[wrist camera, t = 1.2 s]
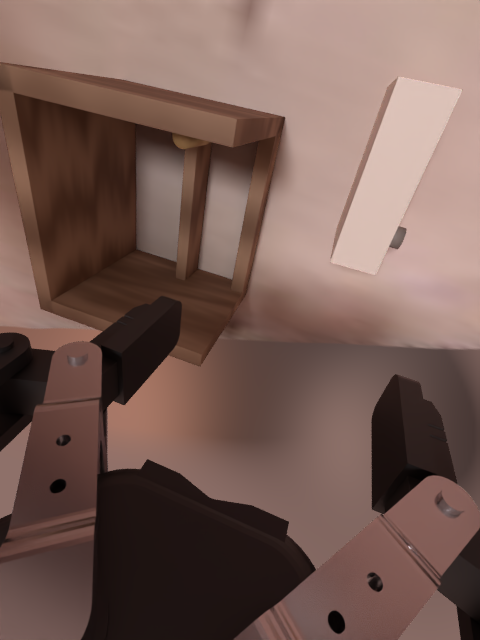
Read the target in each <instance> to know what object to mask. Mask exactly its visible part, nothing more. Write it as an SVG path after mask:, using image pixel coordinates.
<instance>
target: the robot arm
mask: <svg viewBox="0 0 480 640" xmlns="http://www.w3.org/2000/svg"><path fill="white" fill-rule="evenodd" d="M181 313H182V303H181V302H180V301H178V300H175V299H172V298H169V297H166V296H160V297H159V298H158V299H157V300H155V301H154V302H153V303H152V304H150V305H149V304H143V305H140V306H137V307H134V308H133V309H131V310H130V311H129V312H127V313H126V314H125V315H124V317H123V316H122V317H121V318H120V319H118V320H117V322H115V323H113V324H112V325H111V326H109V327H108V328H107V329H106V330H104V331H103V332H102V333H100V334H99V335H98V336H97V337H95V338H94V339H93V340H91V341H90V342H83V341H82V342H73V343H69V344H66V345H64V346H62V347H60V348H59V349H57V350H56V351H50V350H41V349H32V348H31V346H30V341H29V339H28V338H27V337H26V336H25V335H22V334H19V333H1V334H0V451H1V450H2V449H3V448H4V447H5V446H6V445H8V444H9V443H10V442H11V441H12V440H13V439H14V438H15V437H16V436H17V435H18V434H19V433H20V432H21V431H22V430H23V429H24V428H25V427H26V426H27V425H28V424H29V423H30V422H31V421H32V423H31V428H30V433H29V437H28V442H27V447H26V451H25V456H24V461H23V465H22V470H21V475H20V479H19V484H18V489H17V493H16V498H15V502H14V507H13V511H12V514H10V515H7V516H5V517H3V518H1V519H0V640H398V638H399V637H400V636H401V635H402V633H403V632H404V631H405V630H406V628H407V627H408V626H409V625H410V623H411V622H412V621H413V619H414V618H415V617H416V616H417V614H418V613H419V612H420V610H421V609H422V608H423V607H424V605H425V604H426V603H427V602H428V600H429V599H430V598H431V596H432V595H433V594H434V593H435V591H436V590H438V591H439V592H440V593H442V594H443V595H444V596H445V597H447V598H448V599H449V600H450V601H452V602H453V603H454V604H456V605H457V613H458V621H459V628H460V636H461V640H480V512H479V509H478V507H477V505H476V504H475V502H474V501H473V499H472V498H471V497H470V496H469V494H468V493H467V492H466V491H465V490H464V489H462V488H461V487H460V486H459V485H458V484H457V480H456V476H455V472H454V468H453V464H452V459H451V455H450V451H449V447H448V443H446V441H447V439H446V435H445V432H444V426H443V422H442V418H441V415H440V414H439V412H438V411H437V409H436V408H435V406H434V405H433V403H432V402H430V401H427V400H424V399H423V395H422V390H421V385H420V383H419V382H417V381H415V380H412V379H409V378H406V377H403V376H400V375H396V374H395V375H394V376H393V377H392V379H391V380H390V382H389V384H388V385H387V387H386V389H385V390H384V392H383V394H382V395H381V397H380V399H379V401H378V402H377V404H376V406H375V409H374V412H373V415H372V509H373V510H375V511H377V512H380V513H382V514H384V515H382V514H381V515H379V516H378V517H377V518H375V519H374V520H373V521H372V522H371V523H370V524H368V525H367V526H366V527H365V528H364V529H363V530H362V531H360V532H359V533H358V534H357V535H356V536H355V537H354V538H353V539H351V540H350V541H349V542H348V543H347V544H346V545H344V546H343V547H342V548H341V549H340V550H339V551H337V552H336V553H335V554H334V555H333V556H332V557H331V558H330V559H328V560H327V561H326V562H325V563H324V564H323V565H322V566H320V567H319V568H318V569H317V570H316V569H315V567H314V565H313V564H312V562H311V561H310V559H309V558H308V556H307V555H306V554H305V553H304V551H303V550H302V549H301V548H300V547H299V546H298V545H297V544H296V543H295V542H294V541H293V540H292V539H291V538H290V537H289V536H288V535H286V534H287V529H288V524H289V522H288V521H286V520H284V519H281V518H279V517H277V516H274V515H272V514H270V513H268V512H265V511H263V510H261V509H259V508H256V507H254V506H252V505H246V504H239V503H233V502H227V501H221V500H214V499H211V498H209V497H208V496H207V495H205V494H204V493H203V492H202V491H201V490H199V489H198V488H197V487H196V486H194V485H193V484H192V483H191V482H189V481H188V480H187V479H186V478H185V477H183V476H182V475H181V474H180V473H177V472H175V471H173V470H171V469H168V468H166V467H164V466H162V465H159V464H157V463H155V462H153V461H150V460H146V462H145V463H144V465H143V466H142V468H141V469H119V470H113V471H108V461H107V407H108V406H109V405H110V404H111V403H112V402H113V401H115V402H117V403H120V404H122V405H125V404H126V403H127V402H128V401H129V399H130V398H131V397H132V396H133V395H134V394H135V393H136V391H137V390H138V389H139V388H140V387H141V386H142V384H143V383H144V382H145V381H146V380H147V379H148V378H149V376H150V375H151V374H152V373H153V372H154V371H155V370H156V369H157V367H158V366H159V365H160V364H161V363H162V362H163V360H164V359H165V358H166V357H167V356H168V355H169V354H170V352H171V351H172V350H173V349H174V348H175V346H176V344H177V342H178V340H179V336H180V326H181Z"/></svg>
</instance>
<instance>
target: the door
mask: <svg viewBox="0 0 480 640" xmlns="http://www.w3.org/2000/svg"><path fill="white" fill-rule="evenodd" d="M462 90H463V89H458V88H453V87H448V86H443V85H438V84H433V83H428V82H423V81H418V80H413V79H408V78H403V77H398V78H397V79H396V80H395V81H393V82H392V83H391V84H390V85H389V86H388V87H387V90H386V93H385V96H384V99H383V101H382V104H381V107H380V110H379V112H378V115H377V118H376V121H375V124H374V126H373V129H372V132H371V135H370V138H369V140H368V143H367V146H366V149H365V151H364V154H363V157H362V160H361V163H360V165H359V168H358V171H357V174H356V176H355V179H354V182H353V185H352V188H351V190H350V193H349V196H348V199H347V202H346V204H345V207H344V210H343V213H342V215H341V218H340V221H339V224H338V227H337V230H336V235H335V240H334V245H333V250H332V255H331V260H330V262H331V263H334V264H338V265H341V266H344V267H348V268H351V269H355V270H358V271H362V272H365V273H368V274H372V275H376V273H377V271H378V269H379V267H380V265H381V263H382V260H383V258H384V256H385V254H386V252H387V250H388V248H389V247H392V248H395V249H398V248H399V247H400V245H401V244H402V242H403V240H404V237H405V234H406V228H403V227H399V224H400V222H401V220H402V218H403V216H404V213H405V211H406V209H407V207H408V205H409V203H410V201H411V199H412V196H413V194H414V192H415V190H416V188H417V186H418V184H419V181H420V179H421V177H422V175H423V173H424V171H425V169H426V167H427V164H428V162H429V160H430V158H431V156H432V154H433V152H434V149H435V147H436V145H437V143H438V141H439V139H440V137H441V135H442V132H443V130H444V128H445V126H446V124H447V122H448V120H449V118H450V115H451V113H452V111H453V109H454V107H455V105H456V103H457V100H458V98H459V96H460V94H461V92H462Z"/></svg>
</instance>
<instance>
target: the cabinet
mask: <svg viewBox="0 0 480 640" xmlns="http://www.w3.org/2000/svg"><path fill="white" fill-rule="evenodd" d="M0 114H1V119H2V124H3V129H4V134H5V139H6V143H7V148H8V153H9V158H10V163H11V168H12V172H13V177H14V182H15V187H16V192H17V197H18V201H19V206H20V211H21V216H22V221H23V226H24V230H25V235H26V240H27V245H28V250H29V255H30V259H31V264H32V269H33V274H34V279H35V284H36V288H37V293H38V298H39V303H40V308H41V309H43V310H45V311H48V312H51V313H54V314H56V315H59V316H62V317H65V318H67V319H70V320H73V321H76V322H78V323H81V324H84V325H87V326H89V327H92V328H95V329H98V330H101V331H104V330H106V329H107V328H108V327H109V326H111V325H112V324H113V323H115V322H117V320H118V319H120V318H121V317H122V316H123V317H124V315H125V314H126V313H127V312H129V311H130V310H131V309H133V308H134V307H137V306H140V305H143V304H149V305H150V304H152V303H153V302H154V301H155V300H157V299H158V298H159V297H160V296H166V297H169V298H172V299H175V300H178V301H180V302H181V303H182V313H181V326H180V336H179V340H178V342H177V344H176V346H175V348H174V349H173V350H172V351H171V352H170V354H169V355H170V356H173V357H175V358H178V359H181V360H183V361H186V362H189V363H192V364H194V365H197V366H201V364H202V363H203V361H204V360H205V358H206V356H207V355H208V353H209V352H210V350H211V349H212V347H213V345H214V344H215V342H216V341H217V339H218V338H219V336H220V334H221V333H222V331H223V330H224V328H225V326H226V325H227V323H228V322H229V320H230V319H231V317H232V315H233V314H234V312H235V311H236V309H237V308H238V306H239V304H240V303H241V301H242V300H243V298H244V297H245V295H246V291H247V286H248V282H249V277H250V273H251V268H252V264H253V259H254V255H255V250H256V246H257V241H258V237H259V232H260V227H261V223H262V218H263V214H264V209H265V205H266V200H267V196H268V191H269V187H270V182H271V178H272V173H273V169H274V164H275V159H276V155H277V150H278V146H279V141H280V137H281V132H282V128H283V123H284V119H285V117H282V116H278V115H273V114H269V113H265V112H260V111H256V110H252V109H247V108H243V107H239V106H234V105H230V104H226V103H221V102H217V101H213V100H208V99H204V98H200V97H195V96H191V95H186V94H182V93H178V92H173V91H169V90H165V89H160V88H156V87H152V86H147V85H143V84H139V83H134V82H130V81H126V80H120V79H114V78H107V77H100V76H93V75H86V74H79V73H72V72H65V71H58V70H51V69H44V68H37V67H30V66H23V65H16V64H9V63H2V62H0ZM135 123H137V124H141V125H145V126H149V127H153V128H157V129H161V130H165V131H169V132H172V138H173V141H174V143H175V145H176V146H177V147H178V148H180V149H185V158H184V172H183V185H182V199H181V212H180V226H179V239H178V253H177V262H174V261H171V260H168V259H164V258H161V257H158V256H155V255H152V254H149V253H145V252H142V251H139V250H136V124H135ZM256 141H258V146H257V152H256V157H255V162H254V168H253V173H252V178H251V184H250V189H249V194H248V200H247V205H246V210H245V216H244V221H243V226H242V232H241V237H240V242H239V248H238V253H237V258H236V264H235V269H234V274H233V280H231V279H228V278H225V277H222V276H219V275H215V274H212V273H209V272H206V271H203V270H199V269H197V268H198V260H199V251H200V242H201V233H202V225H203V216H204V207H205V199H206V190H207V181H208V173H209V164H210V155H211V147H212V142H213V143H217V144H221V145H225V146H229V147H237V146H240V145H244V144H248V143H252V142H256Z"/></svg>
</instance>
